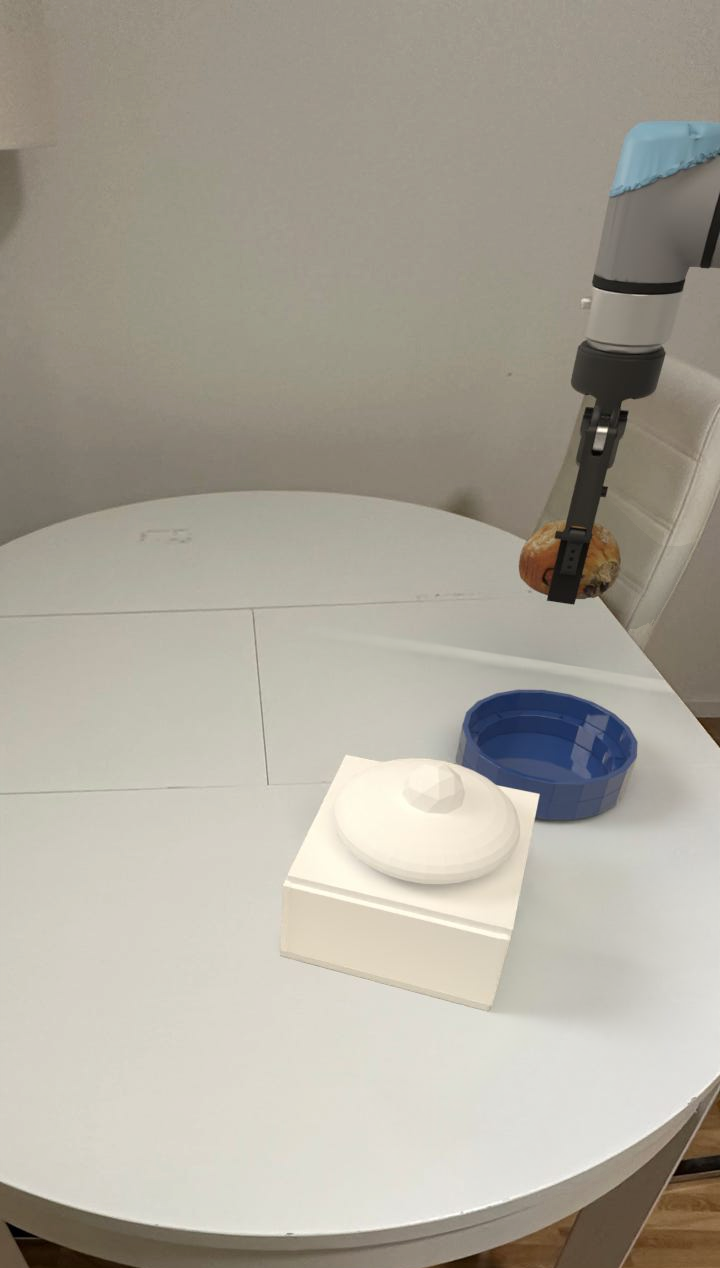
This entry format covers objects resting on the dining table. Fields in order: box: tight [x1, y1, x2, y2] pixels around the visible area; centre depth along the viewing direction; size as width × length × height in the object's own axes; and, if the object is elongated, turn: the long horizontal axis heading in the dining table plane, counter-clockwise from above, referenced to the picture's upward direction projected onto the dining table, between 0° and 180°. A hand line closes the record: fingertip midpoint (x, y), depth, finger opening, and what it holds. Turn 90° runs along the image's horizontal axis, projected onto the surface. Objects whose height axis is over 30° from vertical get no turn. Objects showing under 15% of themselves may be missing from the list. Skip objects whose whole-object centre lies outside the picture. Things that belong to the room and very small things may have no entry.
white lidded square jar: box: [279, 754, 540, 1012], centre depth 76 cm, size 18×18×16 cm
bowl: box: [455, 689, 639, 821], centre depth 95 cm, size 17×17×5 cm
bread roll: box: [518, 519, 622, 600], centre depth 95 cm, size 10×10×8 cm
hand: (566, 579), depth 96 cm, fingers closed on bread roll, 10 cm apart
